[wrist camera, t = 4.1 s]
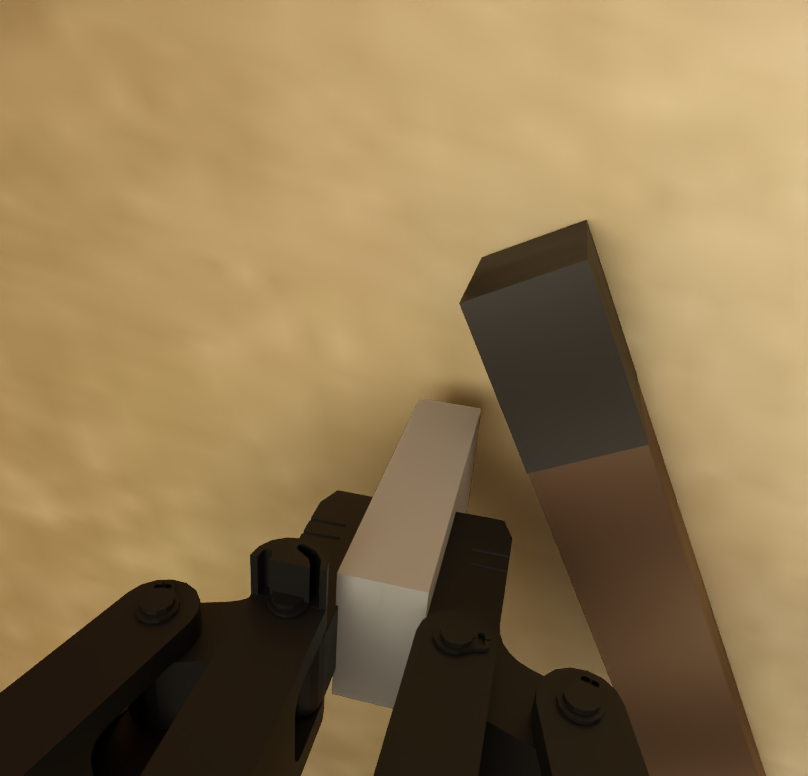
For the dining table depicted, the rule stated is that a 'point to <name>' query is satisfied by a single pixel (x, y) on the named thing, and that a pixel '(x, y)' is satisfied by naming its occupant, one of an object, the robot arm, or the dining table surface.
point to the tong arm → (609, 498)
